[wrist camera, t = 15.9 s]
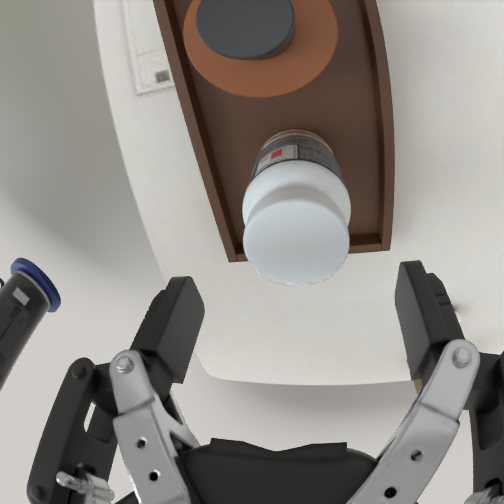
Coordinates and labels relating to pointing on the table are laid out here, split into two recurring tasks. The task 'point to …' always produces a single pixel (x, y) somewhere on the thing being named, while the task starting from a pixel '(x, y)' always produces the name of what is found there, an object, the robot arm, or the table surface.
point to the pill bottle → (296, 210)
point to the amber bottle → (260, 43)
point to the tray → (296, 124)
